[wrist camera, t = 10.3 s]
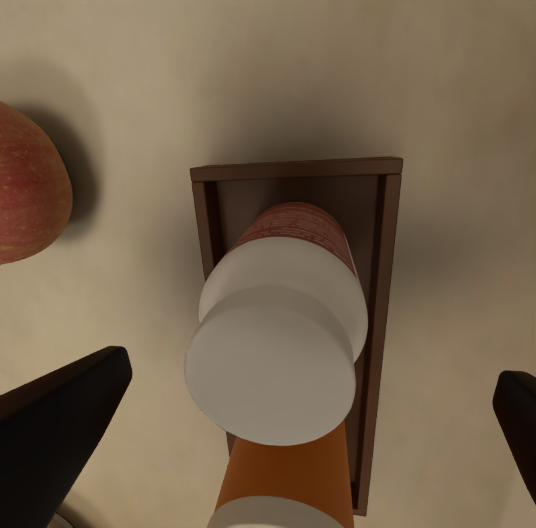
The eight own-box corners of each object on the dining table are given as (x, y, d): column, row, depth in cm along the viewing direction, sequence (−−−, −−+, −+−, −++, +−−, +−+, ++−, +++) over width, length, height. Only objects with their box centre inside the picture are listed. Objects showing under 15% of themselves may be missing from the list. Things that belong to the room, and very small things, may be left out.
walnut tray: (206, 165, 18) (188, 168, 15) (391, 156, 16) (403, 157, 14) (242, 466, 27) (234, 498, 24) (361, 482, 25) (366, 517, 23)
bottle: (360, 374, 21) (400, 594, 10) (303, 420, 23) (290, 635, 13) (290, 321, 20) (260, 501, 10) (239, 374, 22) (172, 563, 12)
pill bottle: (227, 227, 18) (111, 328, 8) (321, 180, 16) (324, 233, 6) (274, 310, 20) (225, 482, 10) (363, 275, 18) (422, 443, 8)
